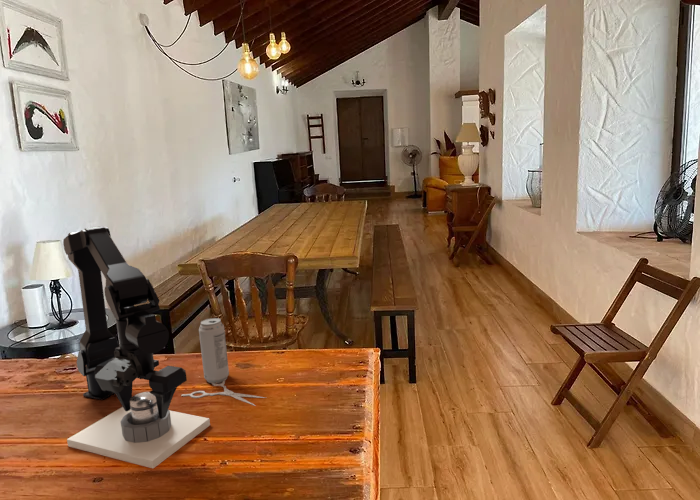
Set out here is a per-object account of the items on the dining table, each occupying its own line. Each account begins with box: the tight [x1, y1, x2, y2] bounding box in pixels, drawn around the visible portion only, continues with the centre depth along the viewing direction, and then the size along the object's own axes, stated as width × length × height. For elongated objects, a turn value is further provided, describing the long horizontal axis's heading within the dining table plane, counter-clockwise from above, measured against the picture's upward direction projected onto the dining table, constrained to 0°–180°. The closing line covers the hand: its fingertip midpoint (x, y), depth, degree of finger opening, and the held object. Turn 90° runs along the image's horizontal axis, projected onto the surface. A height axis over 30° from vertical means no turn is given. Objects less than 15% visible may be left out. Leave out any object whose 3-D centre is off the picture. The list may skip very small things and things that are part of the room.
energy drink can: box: [198, 317, 230, 384], centre depth 131 cm, size 6×6×15 cm
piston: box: [130, 391, 160, 425], centre depth 106 cm, size 5×5×7 cm
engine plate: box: [66, 406, 211, 469], centre depth 107 cm, size 22×16×4 cm
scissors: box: [180, 380, 266, 407], centre depth 124 cm, size 11×1×20 cm
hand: (145, 414), depth 106 cm, fingers open, 9 cm apart
